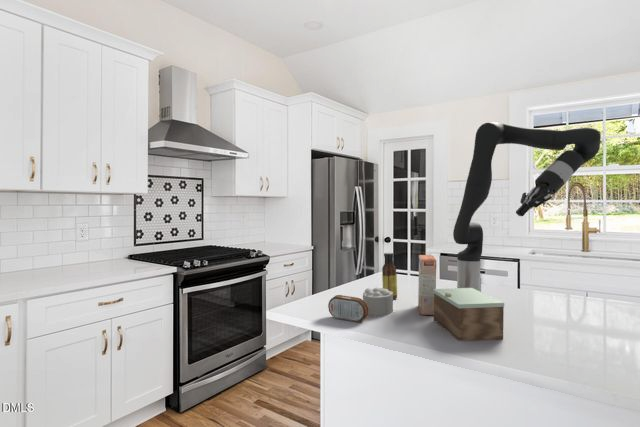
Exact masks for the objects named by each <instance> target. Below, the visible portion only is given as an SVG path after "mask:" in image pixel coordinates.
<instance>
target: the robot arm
mask: <svg viewBox="0 0 640 427" xmlns="http://www.w3.org/2000/svg"><path fill="white" fill-rule="evenodd" d="M601 138H602V136H601V132H600V131H599V130H598V129H596V128H593V127H588V126H585V127H583V126H582V127H575V128H569V129H553V128H536V127H535V128H531V127H530V128H529V127H520V126H514V125H509V124H506V123H501V122H497V121H490V122H489V121H488V122H485V123H483V124H481V125H480V126H479V127H478V128H477V130H476V132H475V138H474V148H473V154H472V159H471V163H470V166H469V172H468V175H467V179H466V183H465V188H464V192H463V197H462V202H461V205H460V209H459V212H458V214H457V218H456V220H455V223H454V227H453V233H452V234H453V239H454V240H453V241H454V242H455V243H456V244H457V245H467V246H466V248H464V249H463V250H461V251H459V252H458V253H457V257H456V258H457V261H456V264H457V265H456V267H457V269H456V270H457V271H456V274H457V275H456V276H457V277H456V278H457V280H456V282H457V283H456V288H473V289H475V290H478V291H480V292H482V278H481V257H482V255H483V247H484V246H483V245H484V230H483V227H482V225H481V224H480V223H479V222H471V221H472V219H473V216H474V215H475V213H476V211H477V210H478V209H479V208H480V207H481V206H482V205H483V204H484V203H485V201H486V200H487V199H488V196H489V195H490V190H491V187H492V186H491V185H492V180H493V179H492V178H493V171H492V169H493V168H492V163H493V162H492V161H493V156H494V153H495V150H496V147H497V146H498V145H504V144H505V145H506V144H509V145H511V144H512V145H521V146H526V147H530V148H535V149H542V150H551V151H563V150H565V148H566V147H567V146H569V145H574V148H573V149H567V150H565V151H563V152H562V153H561V154H560V155H558V157H557V158H556V159H555V160H554V161H553V162H552V163H551V164H549V165H548V166H547V167H546V168H545V169H544V170H543V171H542V172H541V173H540V174H539V176H538V177H537V178H535V180H534V185H535V186H534V187H532V189H531V190H530V192H528V193H527V192H523V193H522V195H521V199H520V204H521V205H520V206H519V207H518V209H516V211H515V214H516V215H517V216H518V217H523V216H525V214H526V213H528V212H529V211H530V210H532V209H533V208H535V209H537V208H538V207H540V206H542V205H543V204H545V203H547V202H549V200H551V199H553V196H554V195H555V194H557V193H558V192H559V191H560V190H561V189H562V188H563V186H564V185H565V184H566V183H567V182H568V181H569V180H570V179H571V177H572V176H573V175H574V174H575V173H576V171H577V170H578V169H580V167H581V166H583V165H584V164H586V163H588V162H589V161H590V160H592V159H593V158H594V157H595V156H596V155H597V154H598V152H599V151H600V146H601ZM552 195H553V196H552Z"/></svg>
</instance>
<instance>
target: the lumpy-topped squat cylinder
mask: <svg viewBox="0 0 640 427" xmlns="http://www.w3.org/2000/svg"><path fill="white" fill-rule="evenodd" d="M362 300H363V301H364V302H365V303H366V304H367V307H368V315H367V317H373V318H374V317H376V318H377V317H384V316H388V315H390V314H392V313H393V311H394V299H393V292H391V291H389V290H387V289H384V288H383V287H382V288H381V287H374V288H373V289H371V288H369V287H368V288H365V290H364V292H362Z"/></svg>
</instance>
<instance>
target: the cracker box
mask: <svg viewBox="0 0 640 427" xmlns="http://www.w3.org/2000/svg"><path fill="white" fill-rule="evenodd" d="M433 289H437V260H436V258H435V256H434V255H433V254H432V255H431V254H418V298H417V299H418V300H417V301H418V302H417V305H418V309H419V310H418V311H419V314H420V315H422V316H434V293H433Z"/></svg>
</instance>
